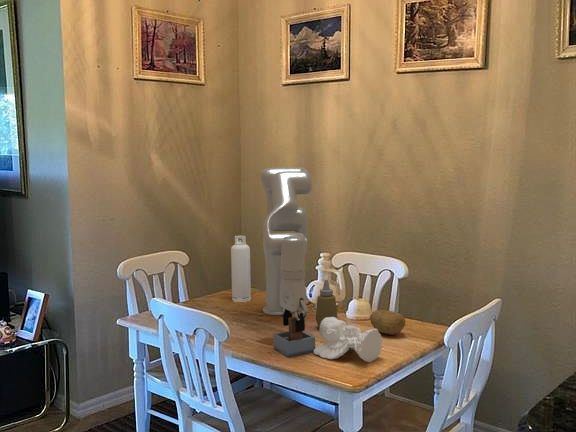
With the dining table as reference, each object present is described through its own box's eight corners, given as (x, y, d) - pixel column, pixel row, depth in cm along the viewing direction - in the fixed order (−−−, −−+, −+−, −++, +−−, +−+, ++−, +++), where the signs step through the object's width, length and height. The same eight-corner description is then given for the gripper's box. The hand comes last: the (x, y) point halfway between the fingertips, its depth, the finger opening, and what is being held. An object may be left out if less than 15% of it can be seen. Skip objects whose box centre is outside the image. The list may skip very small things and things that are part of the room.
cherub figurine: (358, 336, 178) (308, 316, 192) (355, 375, 181) (306, 353, 195) (384, 325, 188) (335, 307, 201) (381, 362, 190) (332, 342, 204)
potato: (381, 326, 223) (381, 304, 222) (411, 335, 212) (411, 313, 211) (362, 331, 217) (362, 309, 216) (392, 341, 206) (392, 318, 205)
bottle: (230, 302, 258) (228, 237, 255) (234, 297, 266) (233, 234, 263) (248, 302, 257) (247, 237, 254) (252, 298, 265) (251, 235, 262)
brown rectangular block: (288, 347, 197) (288, 317, 196) (299, 345, 199) (299, 315, 198) (291, 349, 196) (291, 319, 194) (302, 347, 198) (302, 317, 196)
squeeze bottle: (336, 332, 216) (336, 283, 214) (313, 331, 217) (313, 282, 215) (338, 325, 224) (338, 278, 222) (317, 324, 225) (317, 277, 223)
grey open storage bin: (273, 348, 199) (273, 334, 199) (299, 343, 204) (299, 329, 204) (288, 357, 191) (288, 342, 190) (315, 352, 196) (315, 337, 195)
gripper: (270, 271, 200) (271, 323, 202) (297, 281, 185) (297, 337, 187) (289, 268, 204) (290, 319, 206) (317, 278, 189) (317, 333, 191)
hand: (293, 327), depth 197 cm, fingers open, 7 cm apart
